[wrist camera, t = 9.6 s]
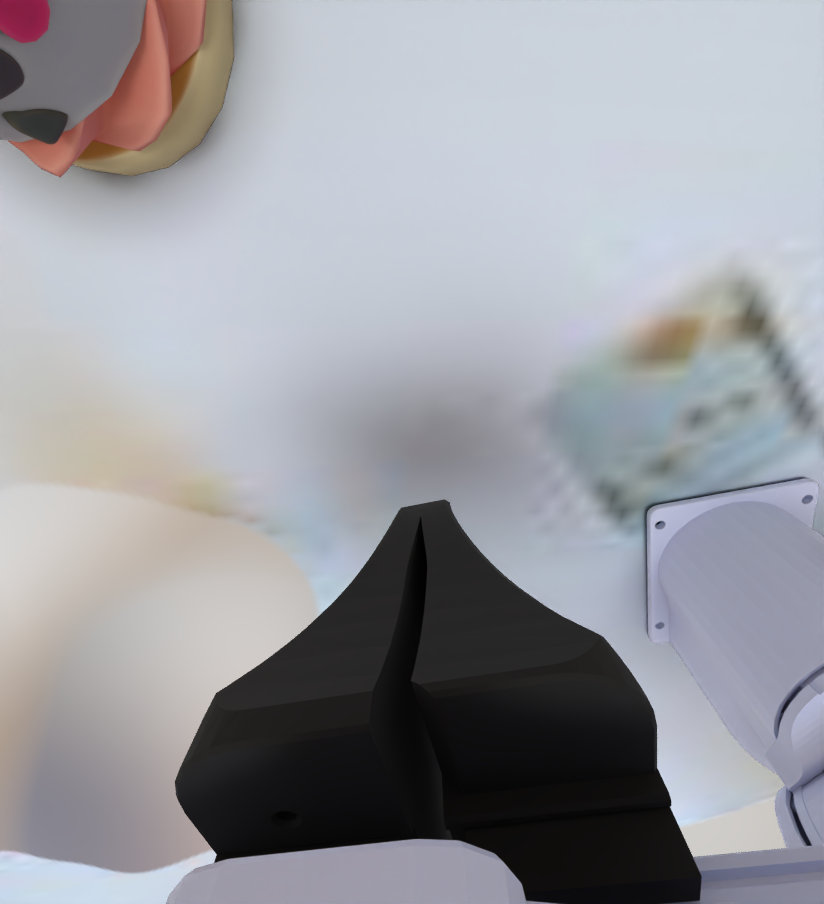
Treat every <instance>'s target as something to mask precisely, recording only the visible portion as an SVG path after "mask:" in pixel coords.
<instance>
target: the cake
mask: <svg viewBox="0 0 824 904" xmlns="http://www.w3.org/2000/svg"><path fill="white" fill-rule="evenodd" d="M233 60H234V43H233V11H232V0H0V139H1V140H7V141H8V142H10V143H11V144H13V145H14V146H15V147H17V148H18V149H20V150H21V151H23V152H24V153H25V154H26V155H27V156H28V157H29V158H30V159H31V160H32V161H33V162H34V163H35V164H36V165H37V166H39V167H40V168H41V169H43V170H45V171H47V172H50V173H52V174H54V175H56V176H59V177H61V176H62V175H63V174H64V173H65V172H66V171H67V170H68V169H69V168H70V166H71V165H75V166H79V167H82V168H86V169H89V170H94V171H101V172H108V173H115V174H121V175H128V176H134V175H138V174H142V173H147V172H151V171H155V170H159V169H163V168H168V167H170V166H171V165H172V164H174V163H175V162H176V161H178V160H179V159H180V158H182V157H183V156H184V155H186V154H187V153H188V152H190V151H191V150H192V149H194V148H195V147H196V146H198V145H199V144H200V143H201V141H202V140H203V138H204V136H205V135H206V133H207V131H208V130H209V128H210V127H211V125H212V123H213V122H214V120H215V118H216V117H217V115H218V113H219V112H220V110H221V108H222V107H223V102H224V98H225V94H226V90H227V85H228V81H229V77H230V73H231V68H232V64H233Z"/></svg>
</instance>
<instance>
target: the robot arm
mask: <svg viewBox="0 0 824 904" xmlns="http://www.w3.org/2000/svg"><path fill="white" fill-rule="evenodd" d="M818 491H819V485H818V484H817V483H816V482H815V481H813V480H811V479H799V480H794V481H788V482H783V483H777V484H772V485H766V486H760V487H755V488H749V489H744V490H738V491H733V492H727V493H722V494H716V495H710V496H705V497H699V498H694V499H688V500H683V501H677V502H671V503H666V504H660V505H656V506H653V507H652V508H650V509H649V511H648V512H647V577H648V636H649V638H650V640H651V641H652V642H653V643H655V644H662V643H669V642H670V643H671V644H672V646H673V647H674V649H675V650H676V652H677V653H678V655H679V656H680V658H681V659H682V661H683V662H684V664H685V665H686V667H687V668H688V670H689V672H690V673H691V675H692V676H693V678H694V679H695V681H696V682H697V684H698V685H699V687H700V688H701V690H702V691H703V693H704V694H705V696H706V697H707V699H708V700H709V702H710V703H711V705H712V706H713V708H714V709H715V711H716V712H717V714H718V716H719V717H720V719H721V720H722V722H723V723H724V725H725V726H726V728H727V729H728V731H729V732H730V734H731V735H732V736H733V737H734V739H735V740H736V741H737V742H738V744H739V745H740V746H741V747H742V748H743V749H744V750H745V751H746V752H747V753H748V754H749V755H751V756H752V757H753V758H754V759H755V760H757V761H758V762H759V763H761V764H762V765H763V766H765V767H766V768H768V769H769V770H770V771H772V772H773V773H775V774H777V775H778V776H779V777H780V779H781V780H782V781H783V783H784V784H785V787H783V788H782V789H781V790H779V791H778V793H777V795H776V798H775V812H776V816H777V820H778V824H779V828H780V830H781V833H782V835H783V839H784V842H785V846H786V848H783V849H772V850H763V851H751V852H741V853H731V854H720V855H710V856H699V857H693V856H692V854H691V852H690V850H689V848H688V846H687V843H686V841H685V839H684V837H683V835H682V832H681V830H680V828H679V826H678V824H677V821H676V819H675V817H674V815H673V813H672V811H671V808H670V806H671V798H670V795H669V792H668V790H667V788H666V786H665V784H664V782H663V779H662V777H661V775H660V773H659V771H658V769H657V724H656V719H655V714H654V710H653V708H652V706H651V704H650V702H649V700H648V698H647V696H646V695H645V693H644V691H643V690H642V688H641V687H640V685H639V684H638V682H637V681H636V679H635V678H634V676H633V675H632V673H631V672H630V670H629V669H628V668H627V666H626V665H625V664H624V662H623V661H622V659H621V658H620V657H619V656H618V654H617V653H616V652H615V651H614V649H613V648H612V647H611V646H610V644H609V643H608V642H607V641H606V640H605V638H604V637H602V636H601V635H599V634H597V633H595V632H593V631H591V630H589V629H587V628H585V627H583V626H581V625H579V624H577V623H575V622H573V621H570V620H568V619H566V618H564V617H562V616H561V615H559V614H557V613H556V612H554V611H552V610H551V609H549V608H547V607H546V606H544V605H543V604H542V603H540V602H539V601H537V600H536V599H534V598H533V597H532V596H530V595H529V594H527V593H526V592H524V591H523V590H522V589H520V588H519V587H518V586H516V585H515V584H514V583H513V582H512V581H510V580H509V579H508V578H507V577H506V576H504V575H503V574H502V573H501V572H500V571H499V570H498V569H497V568H496V567H495V566H494V565H493V564H492V563H491V562H490V561H489V560H488V559H487V558H486V557H485V556H484V555H483V554H482V553H481V552H480V551H479V549H478V548H477V547H476V546H475V545H474V544H473V542H472V541H471V540H470V538H469V537H468V536H467V534H466V533H465V532H464V530H463V529H462V528H461V526H460V524H459V523H458V521H457V519H456V518H455V516H454V514H453V512H452V510H451V506H450V502H448V501H446V500H440V501H434V502H429V503H424V504H419V505H413V506H408V507H403V508H401V509H400V510H399V512H398V513H397V515H396V517H395V518H394V520H393V522H392V524H391V525H390V527H389V529H388V530H387V532H386V534H385V535H384V537H383V539H382V540H381V542H380V543H379V545H378V546H377V548H376V550H375V551H374V553H373V554H372V556H371V557H370V558H369V560H368V561H367V563H366V564H365V565H364V567H363V568H362V569H361V571H360V572H359V573H358V575H357V576H356V577H355V579H354V580H353V581H352V582H351V583H350V585H349V586H348V587H347V588H346V589H345V590H344V591H343V592H342V594H341V595H340V596H339V597H338V598H337V599H336V600H335V601H334V602H333V603H332V604H331V605H330V606H329V607H328V608H327V609H326V610H325V611H324V612H323V613H322V614H321V615H320V616H319V617H317V618H316V619H315V620H314V621H313V622H312V623H311V624H310V625H309V626H308V627H307V628H306V629H305V630H303V631H302V632H301V633H300V634H299V635H297V636H296V637H295V638H294V639H293V640H291V641H290V642H289V643H288V644H287V645H285V646H284V647H283V648H281V649H280V650H279V651H277V652H276V653H275V654H273V655H272V656H271V657H269V658H268V659H267V660H265V661H264V662H263V663H261V664H260V665H258V666H257V667H255V668H254V669H252V670H251V671H249V672H248V673H246V674H245V675H243V676H242V677H240V678H239V679H237V680H236V681H234V682H233V683H231V684H230V685H228V686H227V687H225V688H224V689H222V690H220V691H219V692H217V693H216V695H215V696H214V698H213V700H212V702H211V705H210V706H209V708H208V710H207V712H206V714H205V716H204V718H203V720H202V722H201V724H200V727H199V729H198V731H197V733H196V735H195V737H194V739H193V742H192V744H191V746H190V748H189V750H188V752H187V755H186V757H185V759H184V761H183V763H182V766H181V767H180V770H179V773H178V775H177V777H176V780H175V787H176V796H177V798H178V801H179V803H180V805H181V806H182V808H183V810H184V812H185V814H186V815H187V816H188V818H189V819H190V820H191V821H192V823H193V824H194V826H195V827H196V828H197V829H198V831H199V832H200V833H201V835H202V836H203V837H204V838H205V840H206V841H207V842H208V844H209V845H210V846H211V848H212V849H213V850H214V851H215V853H216V854H217V856H216V859H215V862H214V863H213V864H209V865H206V866H202V867H199V868H196V869H194V870H193V871H191V872H190V873H188V874H187V875H186V876H184V877H183V879H182V880H181V881H180V882H179V884H178V885H177V886H176V887H175V888H174V890H173V891H172V892H171V893H170V895H169V897H168V899H167V902H166V904H824V536H822V535H821V534H819V533H818V532H816V531H815V530H813V529H812V525H813V520H814V514H815V508H816V502H817V496H818ZM804 496H806V497H805V498H803V497H804ZM802 498H803V499H802ZM659 521H661V523H660V524H658V525H655V524H656V523H657V522H659Z"/></svg>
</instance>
